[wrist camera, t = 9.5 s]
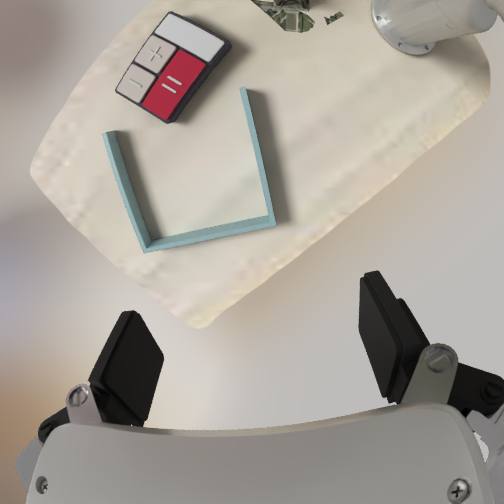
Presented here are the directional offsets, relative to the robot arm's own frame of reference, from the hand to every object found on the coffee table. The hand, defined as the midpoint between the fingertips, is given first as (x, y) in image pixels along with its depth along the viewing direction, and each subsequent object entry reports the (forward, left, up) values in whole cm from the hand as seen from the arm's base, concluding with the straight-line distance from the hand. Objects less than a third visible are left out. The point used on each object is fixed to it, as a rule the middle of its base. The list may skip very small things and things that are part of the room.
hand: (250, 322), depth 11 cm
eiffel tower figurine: (-11, -27, -35) cm, 45 cm away
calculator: (+8, -18, -35) cm, 40 cm away
